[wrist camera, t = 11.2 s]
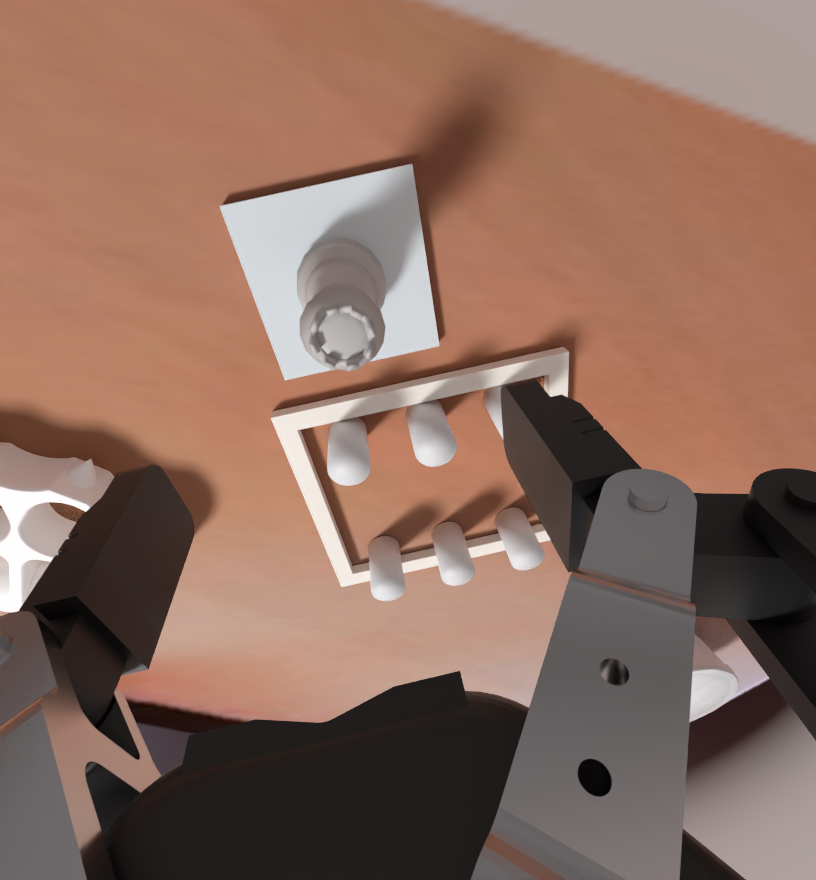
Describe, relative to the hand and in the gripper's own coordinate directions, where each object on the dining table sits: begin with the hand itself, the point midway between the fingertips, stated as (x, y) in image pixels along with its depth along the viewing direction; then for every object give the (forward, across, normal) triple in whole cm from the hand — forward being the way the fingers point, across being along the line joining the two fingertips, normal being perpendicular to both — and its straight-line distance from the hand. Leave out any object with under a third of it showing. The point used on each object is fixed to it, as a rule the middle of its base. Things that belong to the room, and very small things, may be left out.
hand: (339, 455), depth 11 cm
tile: (+16, 0, 0) cm, 16 cm away
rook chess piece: (+15, 0, 0) cm, 15 cm away
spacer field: (+15, -3, +15) cm, 21 cm away
